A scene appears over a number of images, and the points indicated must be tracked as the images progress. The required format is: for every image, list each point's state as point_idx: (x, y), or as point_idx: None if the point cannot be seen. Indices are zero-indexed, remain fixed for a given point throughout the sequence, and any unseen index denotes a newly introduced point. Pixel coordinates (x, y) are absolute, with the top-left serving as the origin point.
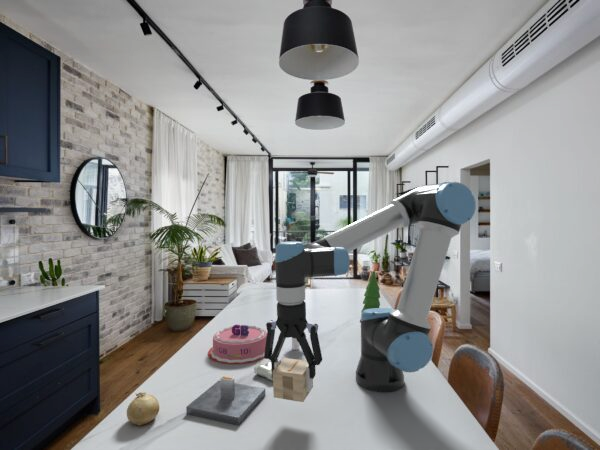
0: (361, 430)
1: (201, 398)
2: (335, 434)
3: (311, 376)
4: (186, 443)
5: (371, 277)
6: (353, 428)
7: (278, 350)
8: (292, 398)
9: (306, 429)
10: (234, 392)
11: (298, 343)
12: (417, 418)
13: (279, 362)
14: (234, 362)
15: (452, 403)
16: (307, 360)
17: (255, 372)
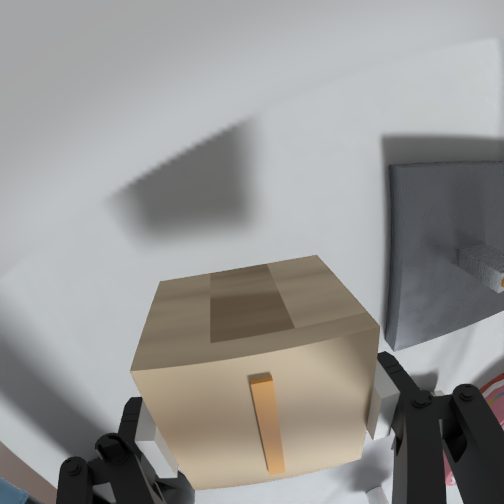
0: (46, 316)
1: None
2: (85, 270)
3: (138, 404)
4: (450, 50)
5: None
6: (64, 316)
7: (408, 477)
8: (215, 276)
9: (172, 250)
10: (466, 270)
11: (371, 501)
12: (5, 393)
13: (371, 418)
14: (484, 391)
15: (5, 440)
16: (137, 480)
17: (438, 392)
